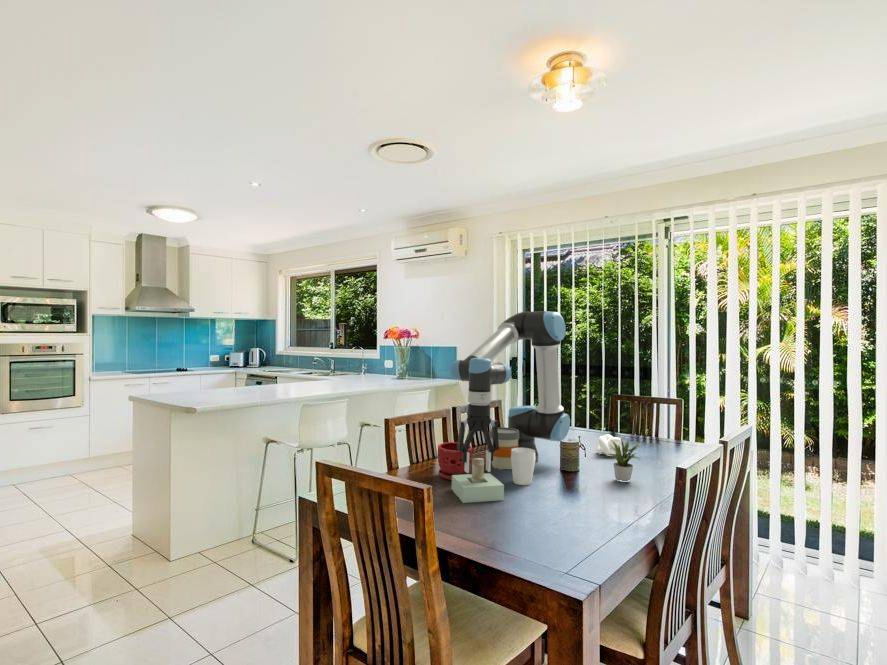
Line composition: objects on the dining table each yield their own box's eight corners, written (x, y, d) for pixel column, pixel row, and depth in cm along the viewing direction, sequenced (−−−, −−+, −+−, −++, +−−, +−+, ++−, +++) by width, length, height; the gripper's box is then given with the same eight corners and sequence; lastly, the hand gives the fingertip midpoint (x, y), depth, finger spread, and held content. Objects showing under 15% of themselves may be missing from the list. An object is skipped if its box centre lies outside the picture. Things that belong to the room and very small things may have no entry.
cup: (516, 487, 184) (516, 453, 184) (506, 479, 193) (507, 447, 193) (539, 485, 186) (539, 452, 186) (528, 478, 195) (529, 447, 195)
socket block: (489, 487, 183) (489, 473, 183) (503, 500, 170) (504, 485, 170) (451, 489, 180) (451, 475, 180) (463, 502, 166) (463, 487, 166)
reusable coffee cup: (518, 463, 217) (518, 427, 217) (519, 471, 204) (520, 434, 204) (488, 461, 218) (489, 426, 218) (487, 470, 205) (488, 432, 205)
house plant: (647, 489, 185) (649, 444, 185) (607, 486, 188) (609, 441, 188) (640, 478, 199) (642, 436, 199) (603, 475, 202) (604, 433, 202)
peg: (480, 492, 177) (482, 457, 177) (484, 496, 173) (485, 460, 173) (469, 493, 176) (470, 458, 176) (473, 496, 172) (474, 461, 172)
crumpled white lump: (588, 453, 238) (588, 433, 238) (608, 451, 243) (608, 432, 243) (605, 459, 228) (606, 439, 228) (626, 456, 233) (626, 437, 233)
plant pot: (430, 478, 192) (431, 446, 192) (447, 470, 203) (447, 440, 203) (462, 484, 186) (463, 451, 185) (477, 475, 197) (478, 444, 197)
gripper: (454, 405, 168) (452, 475, 168) (510, 404, 173) (508, 472, 173) (448, 402, 175) (446, 469, 176) (502, 401, 180) (500, 466, 181)
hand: (477, 471), depth 175 cm, fingers open, 7 cm apart
